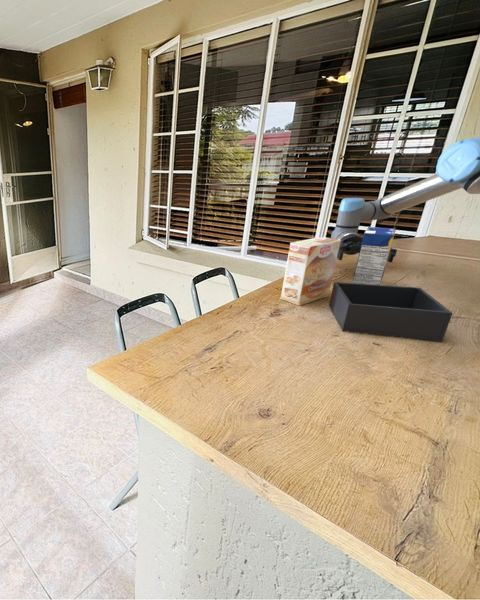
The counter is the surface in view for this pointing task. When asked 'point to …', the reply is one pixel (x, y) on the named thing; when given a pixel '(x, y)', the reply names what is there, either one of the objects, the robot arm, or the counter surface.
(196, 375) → the counter surface
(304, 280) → the coffeecake box
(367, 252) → the beverage box
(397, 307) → the bin
